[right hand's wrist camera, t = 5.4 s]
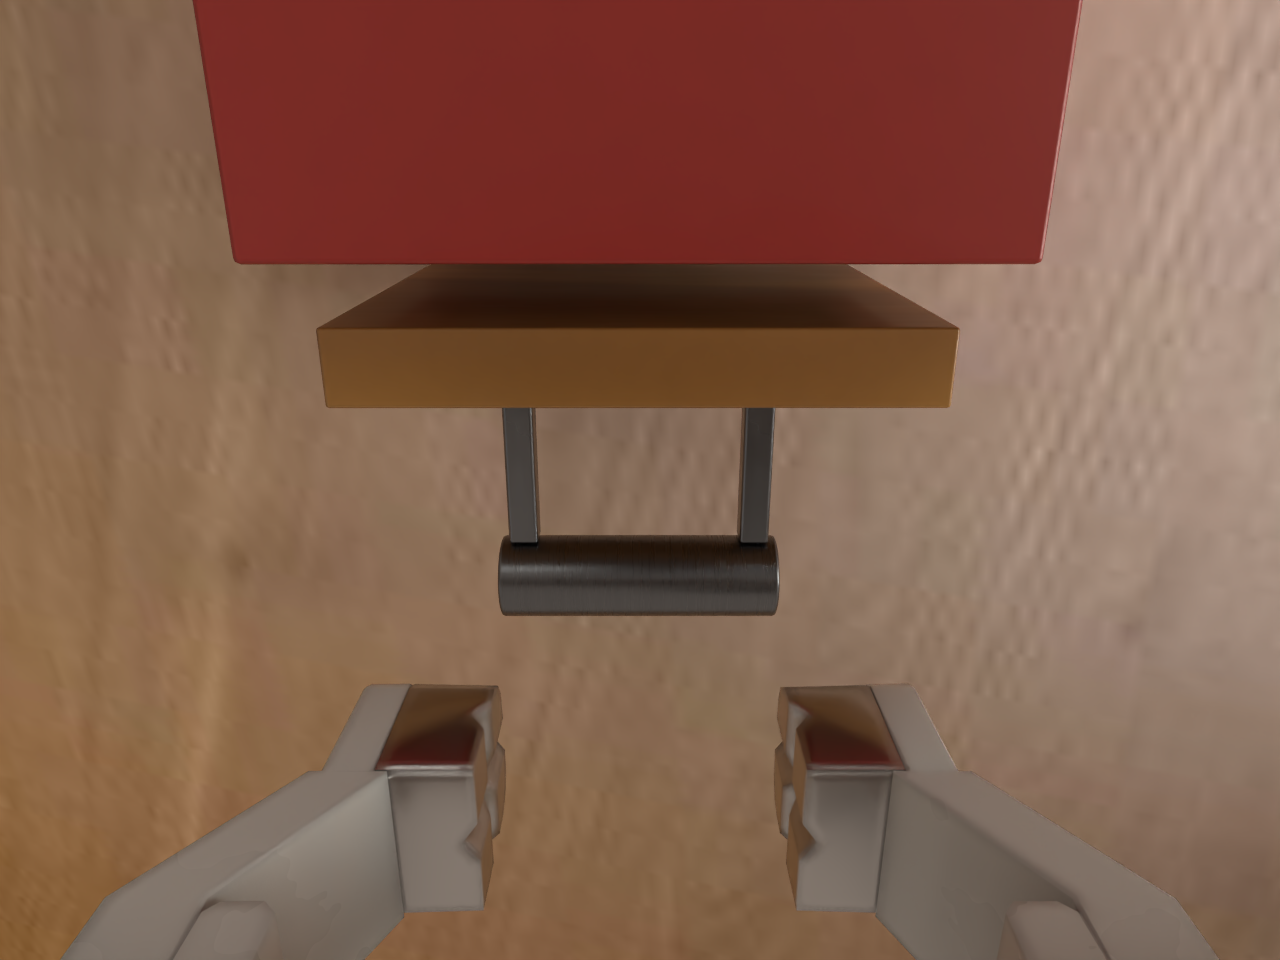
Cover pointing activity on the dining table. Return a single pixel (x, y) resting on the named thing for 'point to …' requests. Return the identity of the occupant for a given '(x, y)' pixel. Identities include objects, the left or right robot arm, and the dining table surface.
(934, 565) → the dining table surface
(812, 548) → the dining table surface
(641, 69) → the cabinet
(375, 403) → the drawer
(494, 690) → the right robot arm
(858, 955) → the dining table surface
